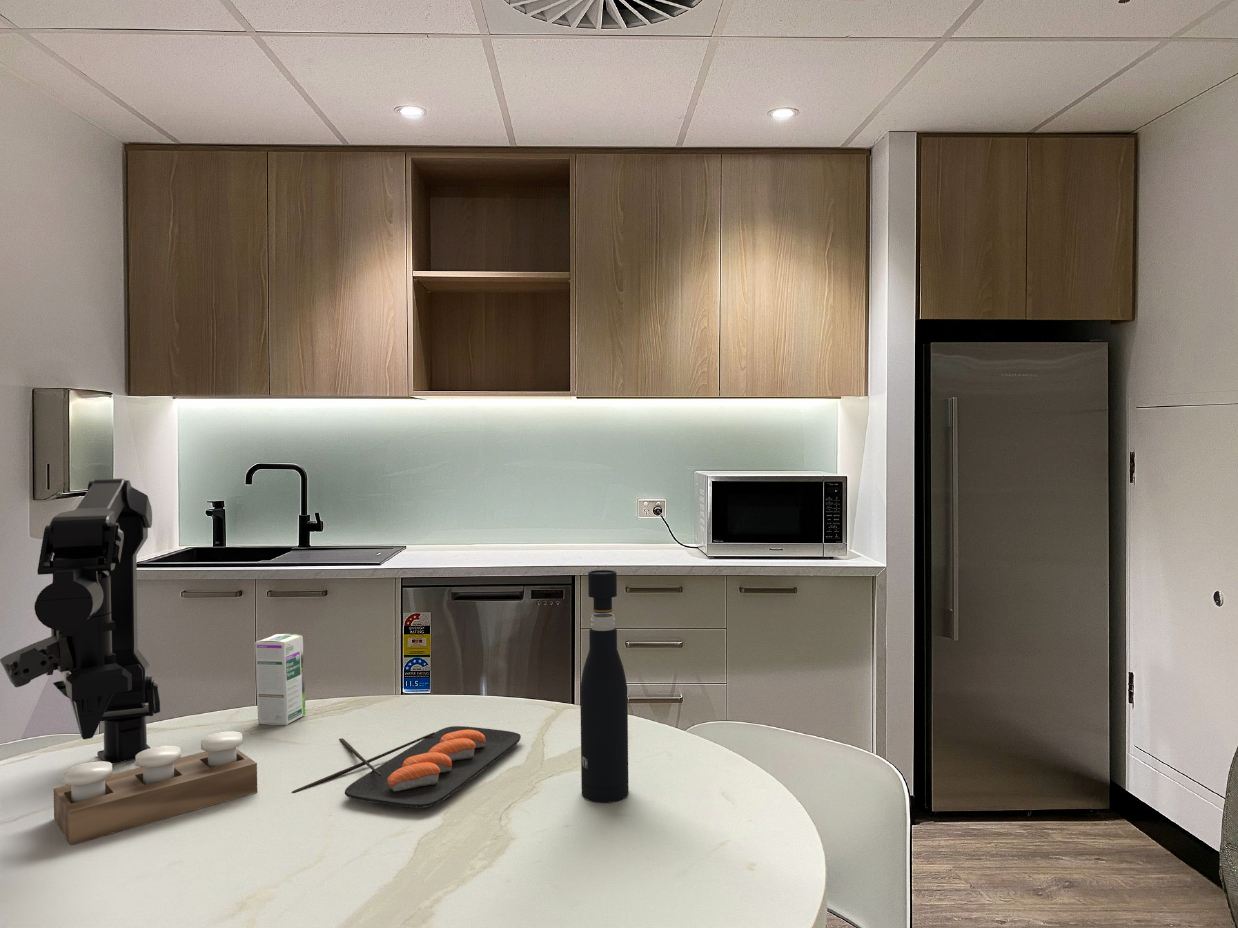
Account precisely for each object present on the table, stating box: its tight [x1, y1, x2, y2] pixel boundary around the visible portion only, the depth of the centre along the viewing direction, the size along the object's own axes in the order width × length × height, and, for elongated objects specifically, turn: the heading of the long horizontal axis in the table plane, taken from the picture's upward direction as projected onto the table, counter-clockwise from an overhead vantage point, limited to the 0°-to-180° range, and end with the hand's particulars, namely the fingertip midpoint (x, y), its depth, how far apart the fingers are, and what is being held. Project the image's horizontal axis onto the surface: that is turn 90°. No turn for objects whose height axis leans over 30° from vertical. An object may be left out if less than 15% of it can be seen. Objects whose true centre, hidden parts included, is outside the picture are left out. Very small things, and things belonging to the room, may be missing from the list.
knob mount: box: [52, 748, 258, 846], centre depth 111 cm, size 10×22×4 cm, turn 133°
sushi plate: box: [291, 725, 522, 809], centre depth 124 cm, size 29×30×4 cm
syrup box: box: [254, 633, 306, 726], centre depth 145 cm, size 6×6×14 cm
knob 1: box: [62, 760, 113, 803], centre depth 105 cm, size 5×5×4 cm
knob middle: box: [135, 745, 182, 785], centre depth 111 cm, size 5×5×4 cm
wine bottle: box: [579, 569, 630, 804], centre depth 113 cm, size 6×6×30 cm
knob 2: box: [200, 731, 243, 768], centre depth 116 cm, size 5×5×4 cm
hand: (87, 738), depth 105 cm, fingers closed
